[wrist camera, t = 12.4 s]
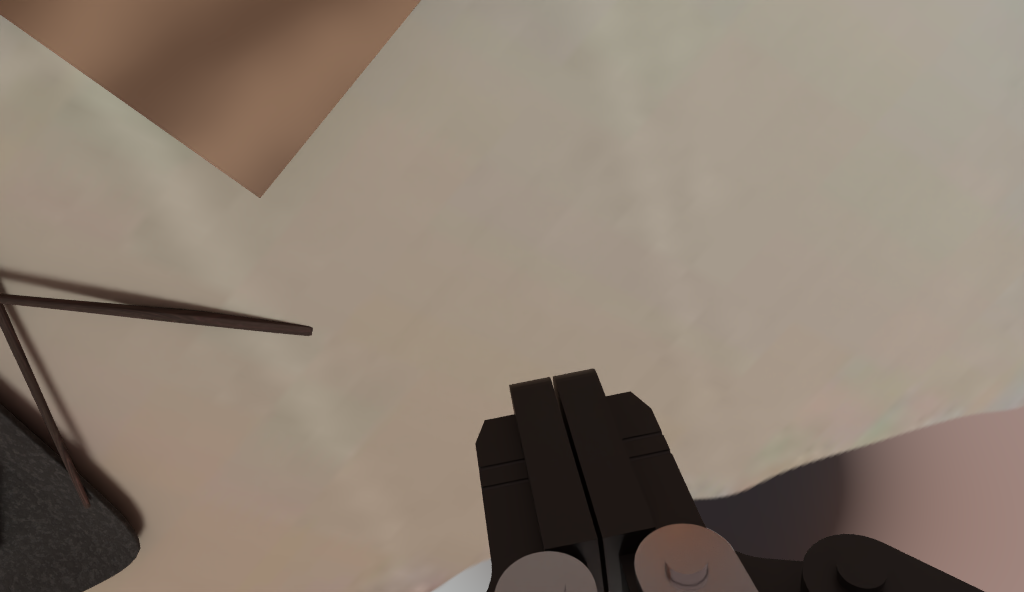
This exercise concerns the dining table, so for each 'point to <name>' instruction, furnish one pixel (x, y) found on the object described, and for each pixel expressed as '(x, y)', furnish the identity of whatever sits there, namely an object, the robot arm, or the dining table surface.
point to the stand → (221, 66)
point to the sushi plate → (70, 475)
